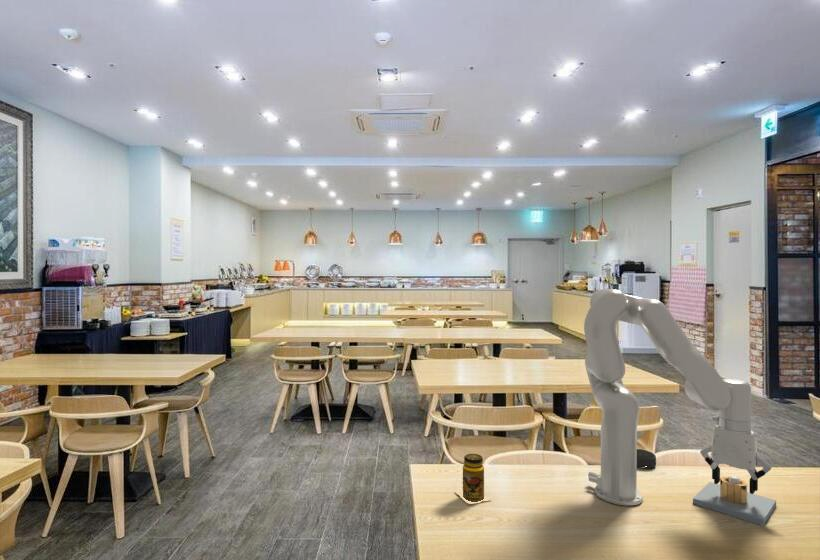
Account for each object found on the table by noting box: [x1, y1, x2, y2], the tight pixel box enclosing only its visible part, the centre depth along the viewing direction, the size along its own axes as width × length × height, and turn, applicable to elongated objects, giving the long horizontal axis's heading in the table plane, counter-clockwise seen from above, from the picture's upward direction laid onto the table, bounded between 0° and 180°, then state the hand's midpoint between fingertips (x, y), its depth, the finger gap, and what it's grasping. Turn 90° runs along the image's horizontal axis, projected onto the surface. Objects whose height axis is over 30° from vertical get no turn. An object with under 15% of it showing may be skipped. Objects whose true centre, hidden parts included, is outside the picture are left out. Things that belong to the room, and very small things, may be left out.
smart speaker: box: [637, 448, 657, 469], centre depth 157 cm, size 9×9×4 cm
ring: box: [719, 476, 748, 504], centre depth 129 cm, size 6×6×5 cm
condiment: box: [462, 453, 485, 502], centre depth 132 cm, size 7×8×12 cm
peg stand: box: [692, 475, 777, 527], centre depth 128 cm, size 16×16×8 cm
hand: (734, 487), depth 128 cm, fingers open, 7 cm apart
